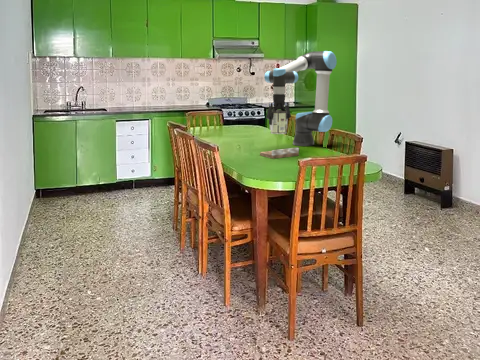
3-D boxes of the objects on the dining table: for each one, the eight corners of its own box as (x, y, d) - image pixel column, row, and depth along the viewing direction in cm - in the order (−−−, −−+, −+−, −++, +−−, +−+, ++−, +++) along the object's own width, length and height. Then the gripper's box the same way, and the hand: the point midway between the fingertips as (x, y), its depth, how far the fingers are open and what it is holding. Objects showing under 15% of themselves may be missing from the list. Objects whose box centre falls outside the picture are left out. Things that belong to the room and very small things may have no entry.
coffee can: (276, 131, 323) (276, 109, 320) (289, 133, 317) (290, 110, 314) (266, 133, 316) (267, 110, 313) (280, 134, 309) (280, 111, 306)
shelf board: (285, 152, 330) (285, 144, 329) (298, 155, 318) (299, 147, 317) (260, 155, 320) (260, 147, 318) (273, 158, 308) (273, 150, 307)
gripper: (290, 92, 320) (289, 127, 325) (260, 93, 308) (260, 130, 313) (297, 93, 314) (296, 129, 318) (267, 94, 302) (267, 131, 307)
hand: (278, 129), depth 316 cm, fingers closed on coffee can, 10 cm apart
